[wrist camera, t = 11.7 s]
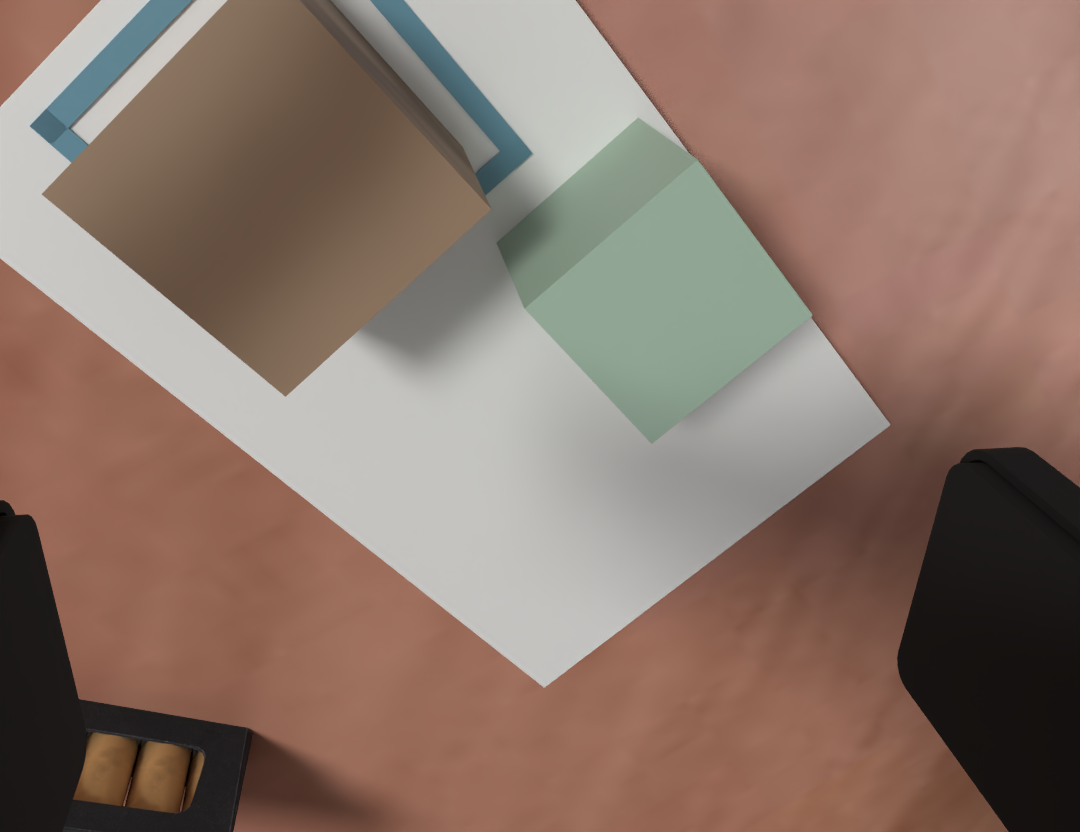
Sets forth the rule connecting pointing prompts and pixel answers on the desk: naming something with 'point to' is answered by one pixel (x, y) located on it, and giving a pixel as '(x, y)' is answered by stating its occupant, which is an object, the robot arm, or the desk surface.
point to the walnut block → (275, 184)
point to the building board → (451, 343)
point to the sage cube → (650, 279)
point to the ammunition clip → (157, 772)
